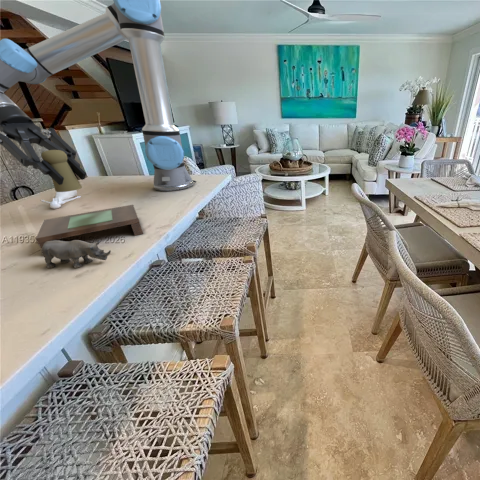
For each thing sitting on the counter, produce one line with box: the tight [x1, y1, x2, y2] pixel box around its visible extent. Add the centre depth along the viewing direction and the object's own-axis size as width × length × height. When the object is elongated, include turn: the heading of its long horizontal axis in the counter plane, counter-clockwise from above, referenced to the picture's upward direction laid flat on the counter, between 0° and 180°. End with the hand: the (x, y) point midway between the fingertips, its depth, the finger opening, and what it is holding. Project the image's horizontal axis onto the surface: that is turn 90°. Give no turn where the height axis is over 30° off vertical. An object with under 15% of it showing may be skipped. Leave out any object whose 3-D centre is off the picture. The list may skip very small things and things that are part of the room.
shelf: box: [35, 204, 144, 249], centre depth 71 cm, size 20×14×5 cm
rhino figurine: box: [40, 239, 112, 269], centre depth 57 cm, size 4×14×6 cm, turn 93°
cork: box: [40, 149, 83, 193], centre depth 75 cm, size 6×6×11 cm
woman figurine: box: [40, 190, 82, 210], centre depth 96 cm, size 12×4×18 cm
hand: (73, 178), depth 75 cm, fingers closed on cork, 5 cm apart
